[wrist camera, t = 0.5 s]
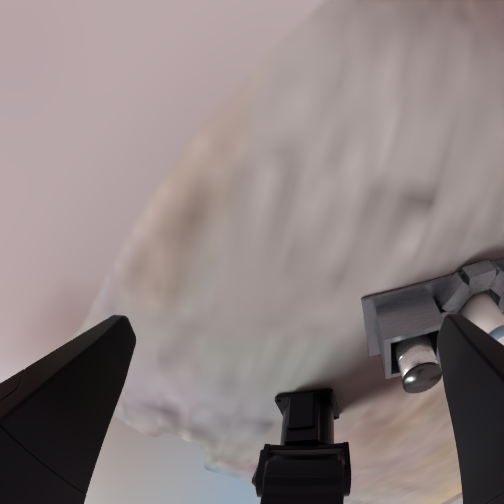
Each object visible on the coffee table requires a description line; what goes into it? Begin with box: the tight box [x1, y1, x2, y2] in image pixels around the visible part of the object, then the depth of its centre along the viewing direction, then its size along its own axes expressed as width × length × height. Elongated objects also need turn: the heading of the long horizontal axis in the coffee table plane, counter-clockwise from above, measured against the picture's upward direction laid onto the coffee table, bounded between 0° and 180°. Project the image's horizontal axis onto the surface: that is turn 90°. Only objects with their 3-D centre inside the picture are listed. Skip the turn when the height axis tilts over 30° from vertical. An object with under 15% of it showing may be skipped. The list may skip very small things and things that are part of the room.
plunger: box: [393, 333, 442, 393], centre depth 19 cm, size 3×3×4 cm
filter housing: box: [361, 258, 504, 379], centre depth 20 cm, size 8×21×4 cm, turn 110°
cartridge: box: [457, 290, 504, 345], centre depth 18 cm, size 4×4×7 cm
